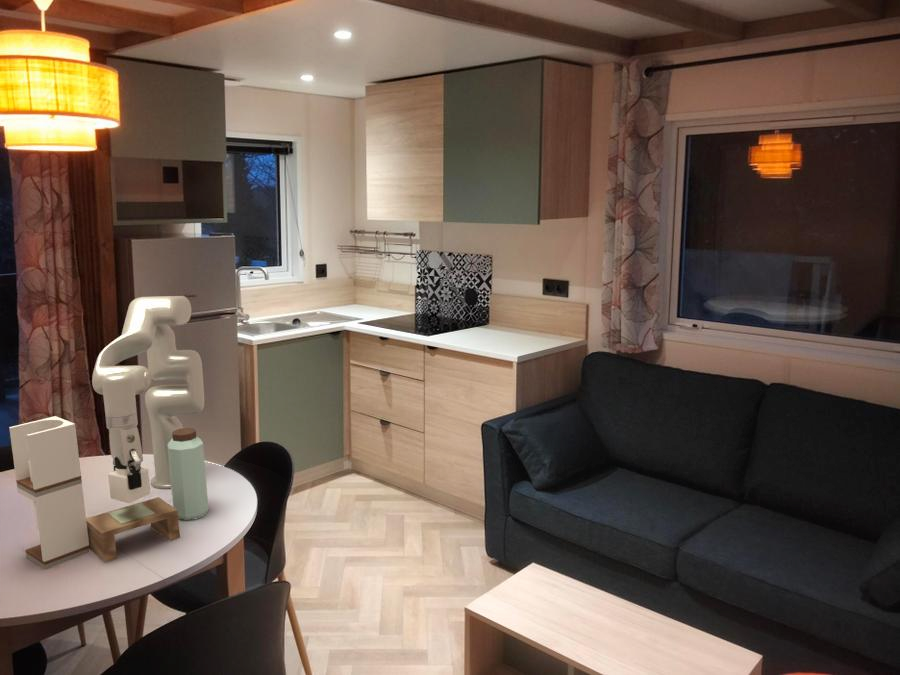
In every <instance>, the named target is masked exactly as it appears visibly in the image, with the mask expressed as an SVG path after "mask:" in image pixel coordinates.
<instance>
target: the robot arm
mask: <svg viewBox="0 0 900 675" xmlns="http://www.w3.org/2000/svg"><path fill="white" fill-rule="evenodd" d="M191 315H192V305H191V302H190V300H189V299H188V298H187V296H184V295H176V296H175V295H171V296H169V295H165V296H163V295H162V296H141V297H136V298H135V299H134V298H133V300H131V302H130V303H129V305H128V309H127V311H126V316H125V320H124V324H123V328H122V330H121V331H122V332H121V335H119V336H118V337H117V338H115V339H114V340H113V341H111V342H110V343H109V344H108V345H106V346H105V347H104V348H103V349H102V350H101V351H100V352H99V354H98V356H97V358H96V361H95V363H94V364H95V365H94V368H93V372H92V376H91V378H92V380H91V383H92V387H93V390H94V391H95V392H96V393H97V394H99V395H101V396H103V404H104V413H105V424H106V429H108V432H109V449H110V455H111V458H112V465H113V471H116V470H115V461H114V457H115V456H116V457H117V458H118V459H119V460H120V462H121V464H122V465H124V466H126V467H127V470H128V473H129V475H127V476H128V486H129V489H130V490H132V489H136V488H140V487H141V486H142V482H141V470H140V469H141V468H142V466H141V464H142V463H143V460H144V459H143V458H144V457H143V456H144V455H143V450H142V444H141V437H140V433H139V429H138V427H137V426H138V424H139V423H138V422H139V421H138V411H137V410H138V408H137V401H136V400H137V398H136V395H141V394H143V393H144V392H145V391H146V392H145V394H144V403H145V408H146V411H147V415H148V419H149V424H150V432H151V444H152V453H153V461H154V462H153V464H154V473H155V474H154V476H153V477H152V478H151V479H150V485H151V486H152V487H153V488H156V489H164V490H165V489H171V478H170V467H169V456H168V445H167V444H168V443H169V442H170V441H171V439H172V432H173V431H175V430H177V429H182V428H184V427H183V424H182V422H181V420H179V418H178V417H177V416H188V415H189V416H190V415H192V416H193V415H197V414H201V412H202V411H203V410H204V407H205V390H204V389H205V387H204V374H203V373H204V372H203V362H202V358H201V355H200V354H199V352H198V351H196V350H194V349H177V346H176V335H175V331H174V330H173V329H172V328H171V326H180V325H186V324H187V323H188V322H189V321H190V320H191V317H192V316H191ZM144 352H146V354H147V355H146V358H147V359H146V360H147V367H146V366H143V365H118V363H121V362H123V361H124V360H127V359H130V358H133V357H135V356H137V355H141V354H142V353H144ZM152 380H153V381H155V382H175V381H177V382H178V381H184V382H186V384H162V385H156V386H155V385H154V386H152V387H150V386H151V383H152ZM149 387H150V388H149ZM129 461H133V462H131V463H128V462H129ZM133 465H134V466H133ZM130 466H133V467H132V469H131V467H130Z"/></svg>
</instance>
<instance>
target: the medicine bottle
mask: <svg viewBox="0 0 900 675" xmlns="http://www.w3.org/2000/svg"><path fill="white" fill-rule="evenodd" d="M114 461H115V465H114V466H115V470H116V471H114V470H113V471H111V472H109V473H108V484H109V493H110V494H109V495H110V499H112V500H115V501H117V502H118V501H120V502H123V503H127V504H130V503H133V502H135V501H138V500H139V499H142V498H145V497H146V496H149V495H151V488H150V487H151V486H150V485H151V483H150V475H149V469H148V468H144V467H141V469H140V470H141V482H142V486H141V487H140V488H136V489H132V490H130V489H129V486H128V476H127V475H129V473H128V470H127V467H126V466H124V465H122V464H121V462H120V460H119V459H118V458H117V457H116V456H115V457H114ZM131 462H133V461H129V462H128V463H131ZM133 466H134V465H133ZM133 466H130V467H131V469H132V467H133Z"/></svg>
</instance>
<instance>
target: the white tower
mask: <svg viewBox="0 0 900 675" xmlns="http://www.w3.org/2000/svg"><path fill="white" fill-rule="evenodd" d="M8 428H9V435H10V442H11V443H10V444H11V451H12V459H13V465H14V467H13V468H14V472H15V473H14V474H15V480H16V488H17V493H18V494H20V495H22V496H24V497H25V498H27V499H30V500H31V501H33V508H34V517H35V524H36V529H37V530H38V535H39V542H40V544H38V545H34V546H32V547H29V548H26V549H25V556H26V558H27V557H28V558H27V559H29V560H31V561H32V562H33V561H34V562H33V563H35V564H36V565H38V566H40V568H42V569H44V570H48V569H50V568H53V567H55V566H58V565H61V564H63V563H67V562H69V561H71V560H74V559H76V558H79V557H82V556H84V555H86V554H89V553H91V550H90V549H89V540H88V531H87V523H86V518H87V517H86V516H87V515H86V507H85V506H86V505H85V497H84V491H83V490H84V489H83V480H82V471H81V464H80V454H79V446H78V439H77V438H78V437H77V428H76V423H74V422H71V421H69V420H66V419H64V418H61V417H59V416H56V415H54V416H50V417H46V418H42V419H38V420H35V421H30V422H26V423H21V424H17V425H13V426H8Z"/></svg>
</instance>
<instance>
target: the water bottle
mask: <svg viewBox="0 0 900 675" xmlns="http://www.w3.org/2000/svg"><path fill="white" fill-rule="evenodd" d="M167 445H168V456H169V467H170V478H171V488H170V489H171V497H172V506H173V507H174V508H176V509H177V510H178V519H179V520H182V519H184V521H191V520H190V519H192V520H196V519H195V518H198V519H200V518H201V516H202V515H203V516H205V515H206V514H207V513H208V511H209V499H208V488H207V476H206V461H205V452H204V451H205V450H204V443H203V440H202V439H201V438H200V437H198V436H197V430H196V429H195V428H193V427H183V428H182V429H177V430H175V431H173V432H172V439H171V441H170V442H169V443H168V444H167ZM205 513H206V514H205ZM204 514H205V515H204ZM203 516H202V517H203ZM199 517H200V518H199Z"/></svg>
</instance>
